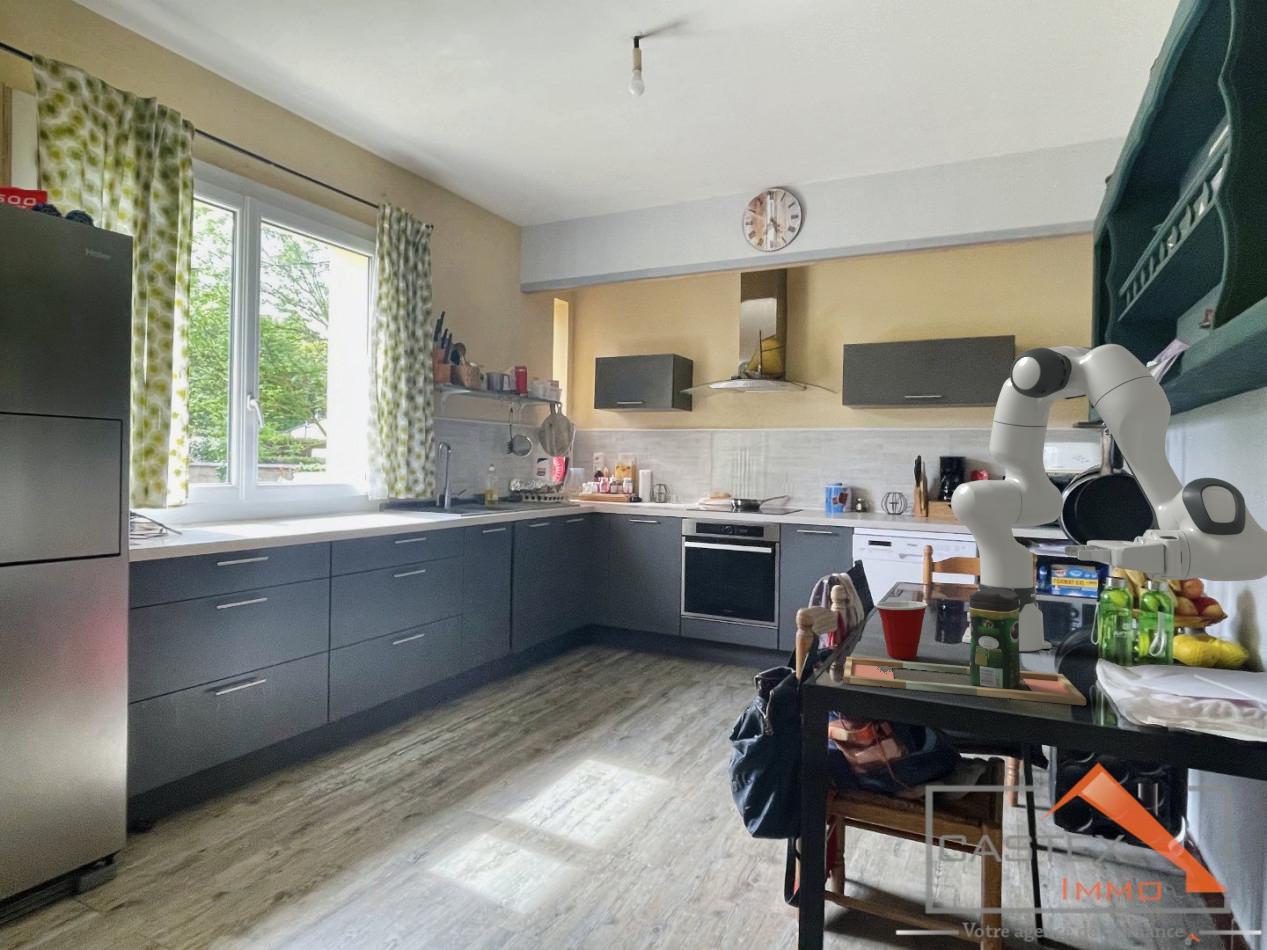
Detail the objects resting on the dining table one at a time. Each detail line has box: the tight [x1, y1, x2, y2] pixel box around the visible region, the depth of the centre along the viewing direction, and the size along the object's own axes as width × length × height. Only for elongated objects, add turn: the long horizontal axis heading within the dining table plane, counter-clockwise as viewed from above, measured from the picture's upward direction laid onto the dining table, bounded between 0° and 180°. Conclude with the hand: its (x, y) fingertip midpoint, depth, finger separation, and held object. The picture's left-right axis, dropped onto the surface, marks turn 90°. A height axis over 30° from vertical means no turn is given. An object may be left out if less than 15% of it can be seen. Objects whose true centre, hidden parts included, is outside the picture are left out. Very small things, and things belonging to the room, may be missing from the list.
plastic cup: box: [875, 600, 928, 661], centre depth 156 cm, size 11×11×12 cm
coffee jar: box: [968, 587, 1021, 690], centre depth 135 cm, size 10×8×19 cm
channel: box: [843, 656, 1087, 706], centre depth 137 cm, size 16×40×1 cm, turn 71°
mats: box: [851, 664, 1070, 695], centre depth 137 cm, size 12×38×1 cm, turn 71°
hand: (1071, 552), depth 131 cm, fingers open, 8 cm apart
